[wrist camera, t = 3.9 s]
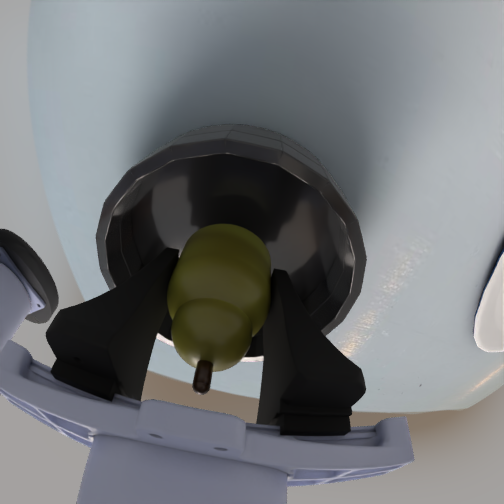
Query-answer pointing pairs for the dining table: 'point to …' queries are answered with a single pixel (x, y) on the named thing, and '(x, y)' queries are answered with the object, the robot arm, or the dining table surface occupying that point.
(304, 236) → the pan
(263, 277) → the pear
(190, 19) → the dining table surface
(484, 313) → the plate
